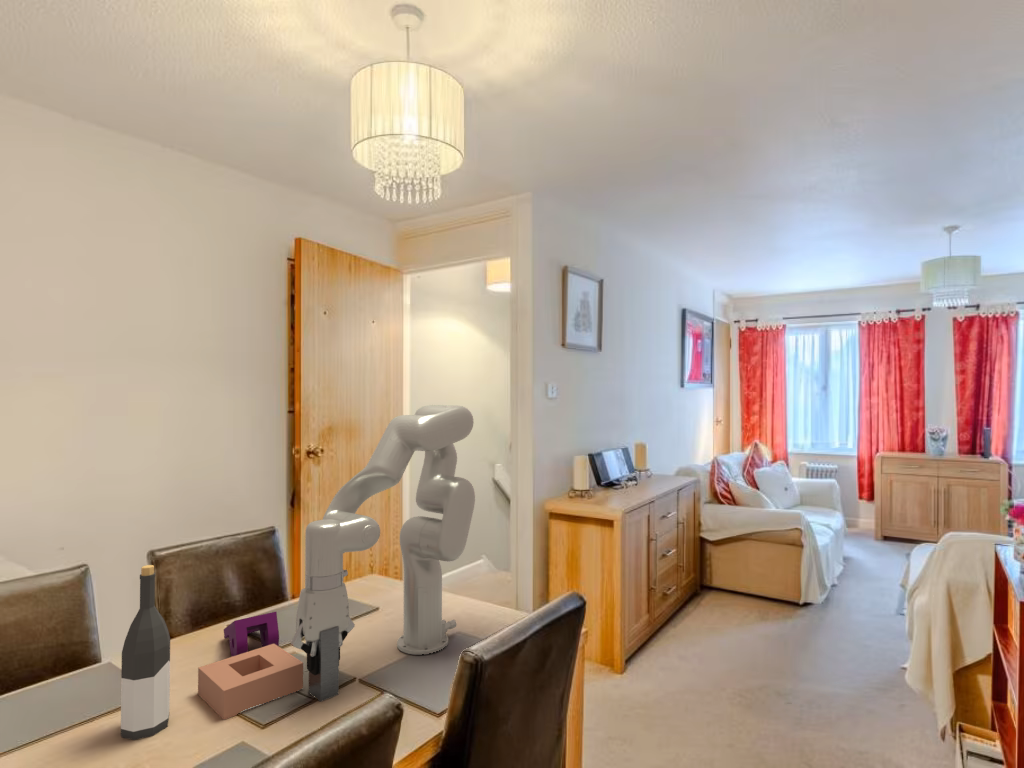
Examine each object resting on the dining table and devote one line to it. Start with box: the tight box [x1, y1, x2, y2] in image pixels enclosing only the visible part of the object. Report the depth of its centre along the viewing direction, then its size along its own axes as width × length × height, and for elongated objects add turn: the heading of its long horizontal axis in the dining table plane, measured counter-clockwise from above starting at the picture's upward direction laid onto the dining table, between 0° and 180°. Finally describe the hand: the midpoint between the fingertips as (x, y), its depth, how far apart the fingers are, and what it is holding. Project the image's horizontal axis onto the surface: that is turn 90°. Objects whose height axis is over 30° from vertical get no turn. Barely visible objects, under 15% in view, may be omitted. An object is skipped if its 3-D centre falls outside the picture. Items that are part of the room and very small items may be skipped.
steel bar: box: [308, 626, 340, 702], centre depth 120 cm, size 4×5×14 cm
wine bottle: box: [120, 564, 171, 741], centre depth 108 cm, size 8×8×30 cm
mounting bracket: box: [223, 611, 280, 657], centre depth 143 cm, size 10×8×18 cm
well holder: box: [197, 644, 304, 721], centre depth 121 cm, size 16×14×6 cm
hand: (323, 668), depth 120 cm, fingers closed on steel bar, 4 cm apart
